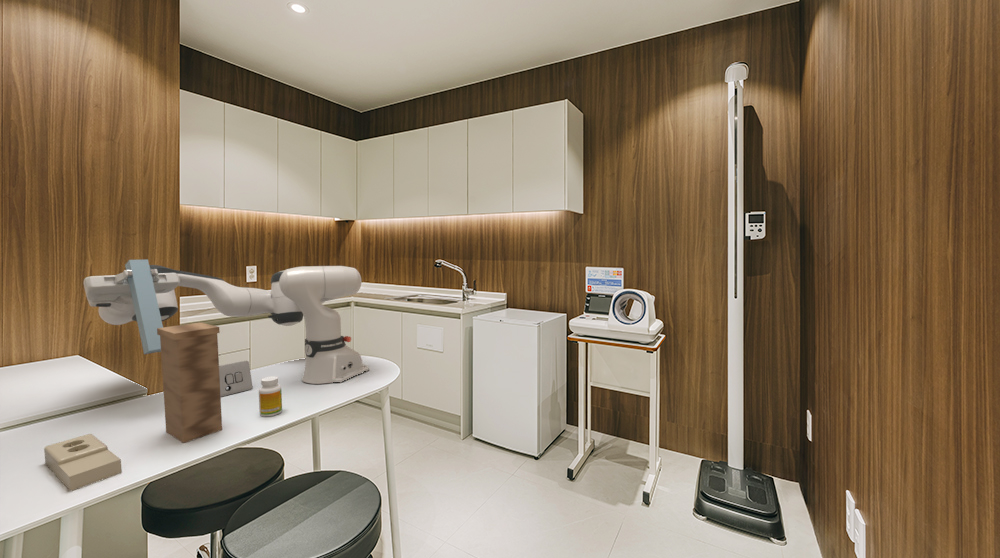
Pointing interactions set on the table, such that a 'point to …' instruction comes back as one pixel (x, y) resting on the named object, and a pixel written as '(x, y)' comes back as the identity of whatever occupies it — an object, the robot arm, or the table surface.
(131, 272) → the robot arm
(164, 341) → the tall wooden block
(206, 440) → the table surface
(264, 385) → the supplement bottle
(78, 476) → the electrical outlet
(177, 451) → the table surface
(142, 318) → the batten
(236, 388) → the electrical switch
